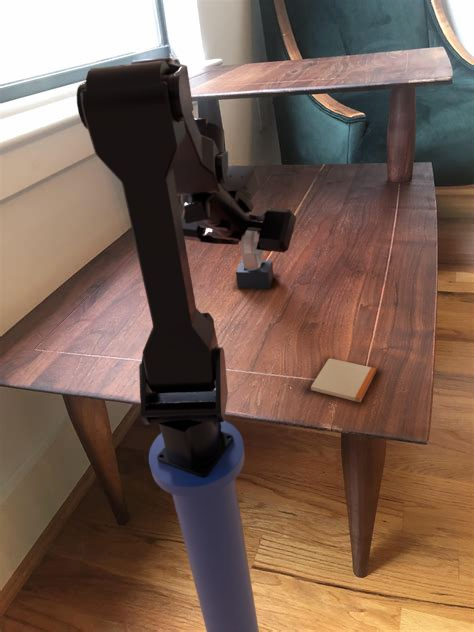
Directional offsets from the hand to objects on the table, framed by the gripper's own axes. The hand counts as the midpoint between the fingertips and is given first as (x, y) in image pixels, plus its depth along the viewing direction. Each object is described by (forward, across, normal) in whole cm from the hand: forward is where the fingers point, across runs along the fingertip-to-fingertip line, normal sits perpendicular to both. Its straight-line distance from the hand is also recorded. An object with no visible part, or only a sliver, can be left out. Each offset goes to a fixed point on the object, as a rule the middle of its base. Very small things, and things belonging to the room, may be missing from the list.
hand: (255, 244), depth 92 cm
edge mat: (-10, -23, +20) cm, 32 cm away
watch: (+4, 0, +6) cm, 7 cm away
